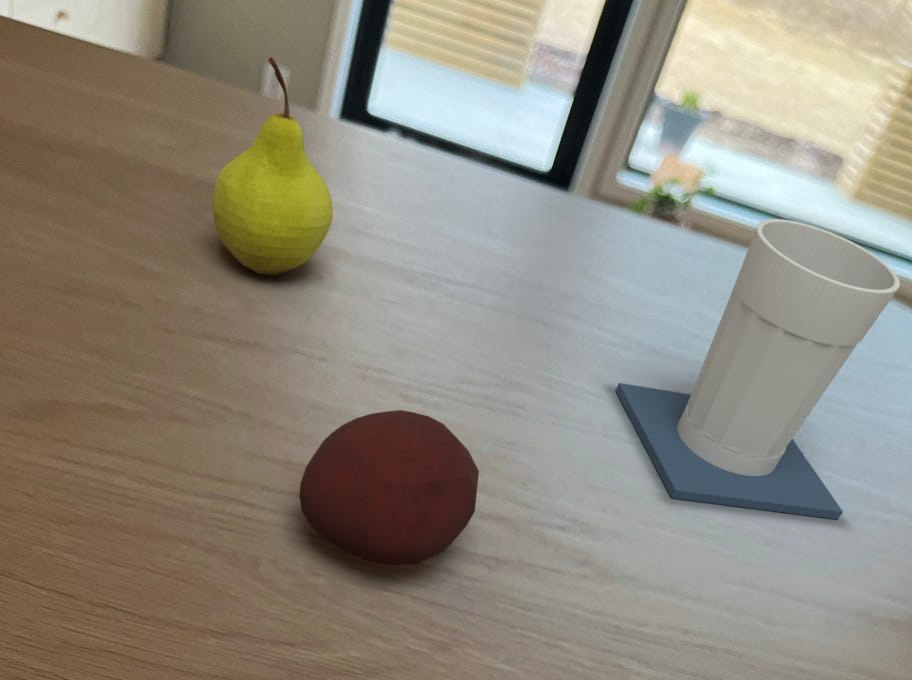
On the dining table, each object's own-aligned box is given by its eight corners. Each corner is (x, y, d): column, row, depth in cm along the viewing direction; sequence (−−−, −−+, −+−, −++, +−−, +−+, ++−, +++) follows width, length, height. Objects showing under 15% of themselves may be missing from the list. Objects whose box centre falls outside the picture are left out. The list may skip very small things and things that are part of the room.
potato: (491, 584, 48) (534, 478, 44) (327, 607, 44) (358, 493, 40) (421, 486, 52) (455, 381, 48) (266, 498, 48) (288, 385, 44)
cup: (638, 418, 62) (728, 222, 54) (715, 397, 67) (808, 215, 59) (739, 497, 58) (852, 299, 50) (813, 469, 63) (926, 284, 55)
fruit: (289, 240, 68) (324, 41, 60) (338, 293, 65) (382, 89, 57) (190, 240, 65) (213, 28, 57) (236, 296, 61) (268, 78, 53)
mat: (766, 414, 68) (770, 407, 68) (838, 519, 61) (843, 511, 60) (615, 390, 65) (618, 382, 65) (671, 498, 58) (675, 489, 57)
